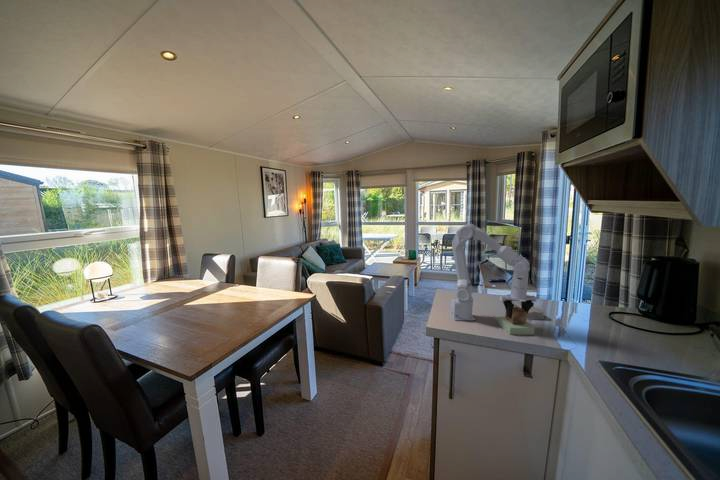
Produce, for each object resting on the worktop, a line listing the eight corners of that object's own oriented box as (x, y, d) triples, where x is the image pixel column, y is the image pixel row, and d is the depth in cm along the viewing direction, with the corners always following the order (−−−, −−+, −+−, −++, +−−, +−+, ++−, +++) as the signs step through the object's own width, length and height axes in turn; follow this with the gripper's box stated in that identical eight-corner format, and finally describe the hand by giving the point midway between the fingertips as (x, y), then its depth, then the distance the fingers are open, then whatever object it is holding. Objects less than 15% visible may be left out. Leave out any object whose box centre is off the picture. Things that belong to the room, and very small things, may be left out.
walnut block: (512, 323, 110) (513, 312, 109) (505, 317, 115) (506, 306, 114) (525, 323, 110) (526, 312, 109) (517, 317, 115) (518, 306, 114)
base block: (509, 334, 108) (510, 327, 107) (497, 322, 118) (497, 316, 117) (534, 334, 108) (534, 327, 107) (519, 322, 117) (520, 316, 117)
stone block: (524, 323, 120) (546, 319, 120) (523, 314, 120) (545, 310, 119) (510, 313, 132) (530, 309, 132) (509, 304, 132) (529, 300, 131)
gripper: (507, 290, 105) (504, 321, 108) (543, 289, 105) (539, 321, 108) (498, 284, 112) (495, 313, 115) (531, 284, 112) (528, 313, 114)
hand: (516, 316), depth 112 cm, fingers closed on walnut block, 5 cm apart
